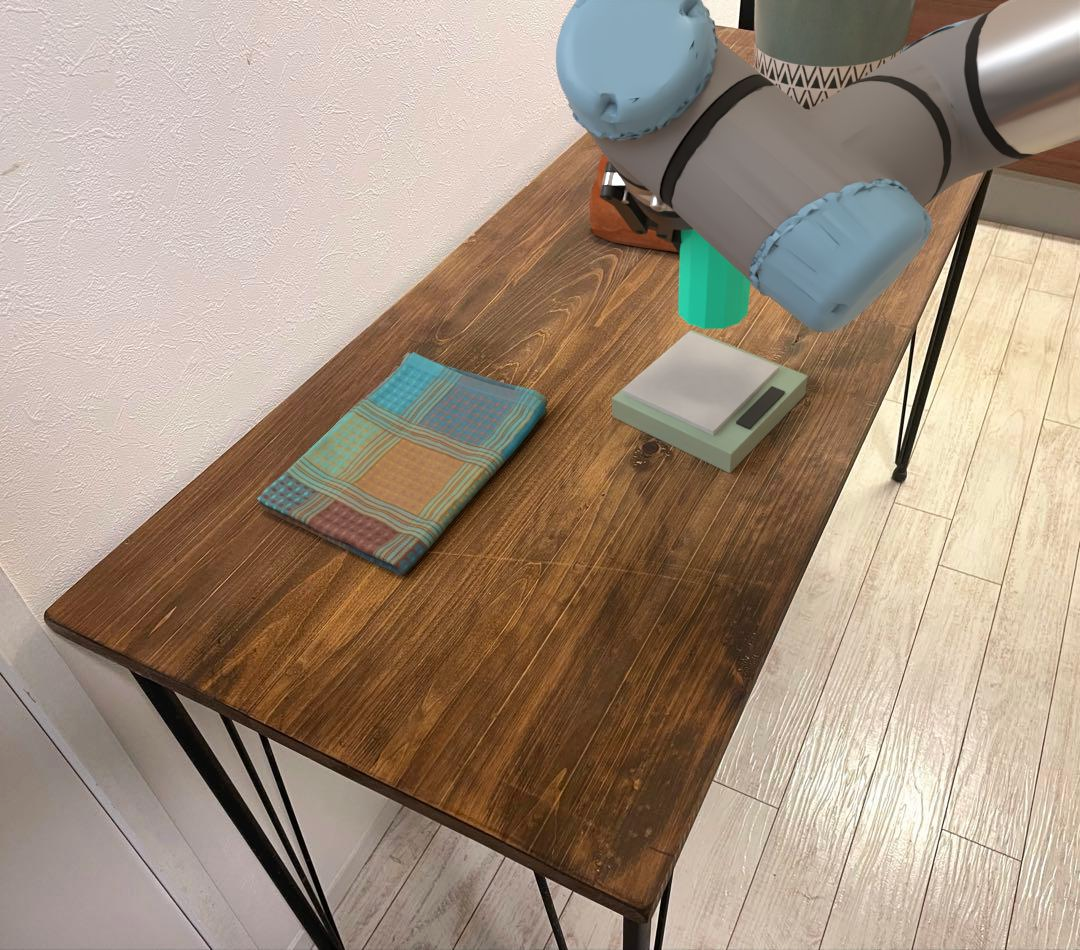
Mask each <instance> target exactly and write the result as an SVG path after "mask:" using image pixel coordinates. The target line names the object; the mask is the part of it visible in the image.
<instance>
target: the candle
mask: <svg viewBox="0 0 1080 950" xmlns="http://www.w3.org/2000/svg"><path fill="white" fill-rule="evenodd" d="M678 269H679V270H678V295H677V296H678V299H677V300H678V301H677V307H678V309H677V310H678V311H677V312H678V316H679V317H681V319H682V320H684V322H685V323H686V324H688V325H690V326H694V327H696V328H700V329H703V330H724V329H727V328H729V327H732V326H736V325H738V324H741V322H742V321H743V320H744V318H746V316H747V315H748V313H749V305H750V294H751V286H752V284H751V282H750V281H749V280H748V279H747V278H746V277H745V276H744V275H743V274H742V273H741V272H740V271H738V270H737V269H736V268H735V267H734V266H733V265H732V264H731V263H730V262H729V261H728V260H727V259H726V258H724V257H723V256H722V255H721V254H720V253H719V252H718V251H717V250H716V249H715V248H714V247H713V246H712V245H710V244H709V243H708V242H707V241H706V240H705V239H704V238H703V237H702V236H701V235H700V234H699V233H698V232H696V231H695V230H694V229H692V230H681V246H680V254H679V267H678Z"/></svg>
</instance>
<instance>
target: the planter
mask: <svg viewBox="0 0 1080 950" xmlns="http://www.w3.org/2000/svg"><path fill="white" fill-rule="evenodd" d="M917 4H918V0H754V17H753V18H754V21H753V22H754V23H753V68H755V69H756V70H757V71H758V72H759V73H760V74H761V75H762V76H764V77H766V78H767V79H768V80H769V81H771V82H772V83H773V84H775V85H776V86H777V87H778V88H780V89H781V90H782V91H783V92H785V93H786V94H787V95H788V96H790V97H791V98H792V99H793V100H795V101H796V102H797V103H798V104H800V105H801V106H802V107H803V108H805V109H806V110H809V109H811V108H812V107H814V106H816V105H817V104H819V103H821V102H822V101H824V100H826V99H827V98H829V97H831V96H832V95H834V94H836V93H837V92H839V91H841V90H842V89H843V88H845V87H847V86H848V85H850V84H851V83H852V82H855V81H858V80H860V79H861V78H863V77H864V76H866V75H868V74H869V73H871V72H872V71H874V70H875V69H877V68H879V67H880V66H882V65H883V64H885V63H886V62H888V61H889V60H891V59H893V58H894V57H896V56H897V55H899V54H900V53H901V52H902V51H903V50H904V48H906V47H907V46H908V45H907V44H908V41H909V37H910V33H911V29H912V24H913V20H914V17H915V12H916V11H915V10H916V7H917Z"/></svg>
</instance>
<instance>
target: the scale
mask: <svg viewBox="0 0 1080 950" xmlns="http://www.w3.org/2000/svg"><path fill="white" fill-rule="evenodd" d="M808 378H809V375H807V374H805V373H802V372H799V371H797V370H795V369H792V368H789V367H787V366H784V365H782V364H780V363H777V362H774V361H772V360H769V359H768V358H767V359H766V358H765V357H762V356H759V355H757V354H755V353H752V352H749V351H747V350H745V349H742V348H739V347H737V346H734V345H731V344H730V343H726V342H724V341H722V340H719V339H716V338H714V337H711V336H709V335H706V334H704V333H701V332H699V331H696V330H694V329H689V331H687V332H686V333H685V334H683V336H681V337H680V338H679V339H678V340H677V341H676V342H674V343H673V344H672V345H671V346H670V347H669V348H667V350H665V351H664V352H663V353H662V354H661V355H660V356H658V357H657V358H656V359H655V360H654V361H653V362H651V363H650V364H649V365H648V366H646V368H645V369H644V370H642V371H641V372H640V373H639V374H638V375H636V376H635V377H634V378H633V379H632V380H631V381H630V382H628V384H626V385H625V386H624V387H623V388H622V389H621V390H619V391H618V392H617V393H616V394H615V395H613V396H612V397H611V412H612V418H614V419H616V420H618V421H620V422H622V423H624V424H626V425H628V426H630V427H633V428H635V430H636V429H637V430H639V431H640V432H642V433H645V434H647V435H649V436H651V437H653V438H655V439H657V440H659V441H661V442H663V443H666V444H668V445H670V446H672V447H674V448H676V449H678V450H680V451H682V452H685V453H687V454H688V455H690V456H693V457H694V458H696V459H698V460H700V461H703V462H705V463H707V464H709V465H712V466H714V467H715V468H718V469H720V470H721V471H724V472H726V473H728V474H731V473H732V472H733V471H734V470H735V469H736V468H737V467H738V466H739V465H740V464H741V463H742V462H743V461H744V460H745V458H746V457H747V456H748V455H749V454H750V453H751V452H752V451H753V450H755V448H756V447H757V446H758V445H759V444H760V443H761V442H762V441H763V440H764V439H765V437H767V435H769V434H770V432H772V430H773V429H774V428H775V427H776V426H777V425H778V424H779V423H780V422H781V421H782V420H783V418H785V417H786V416H787V415H788V413H789V412H791V411H792V409H793V408H794V407H795V406H796V405H797V404H798V403H799V402H800V401H802V399H803V398H804V396H806V391H807V384H808Z"/></svg>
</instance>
